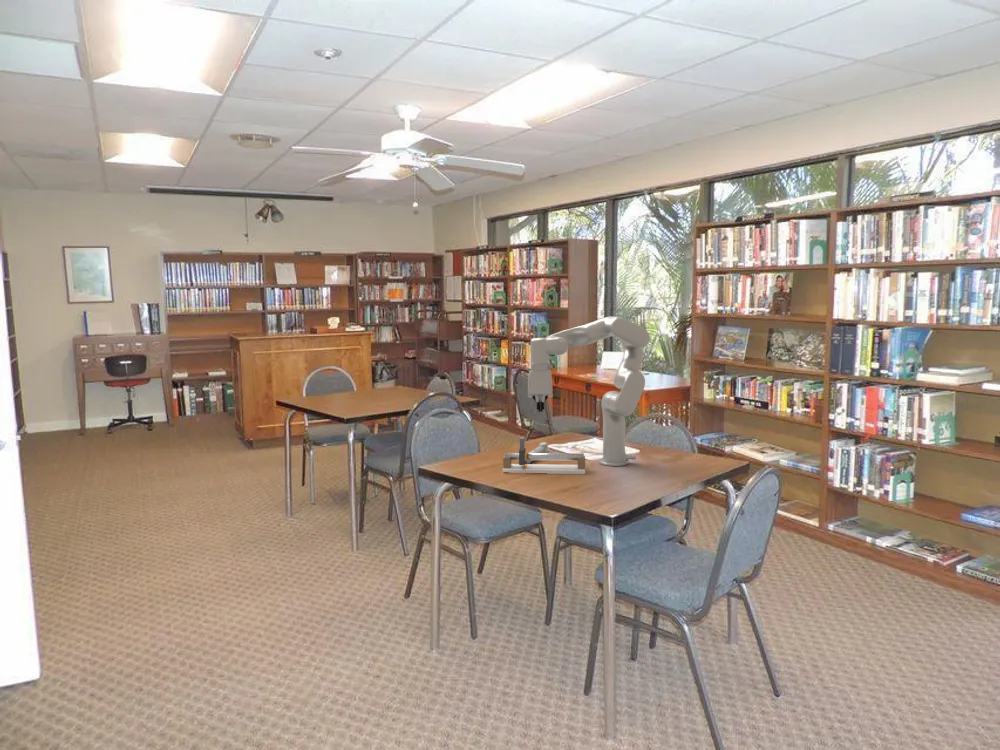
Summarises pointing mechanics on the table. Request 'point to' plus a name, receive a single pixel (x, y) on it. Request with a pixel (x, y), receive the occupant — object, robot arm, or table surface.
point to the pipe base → (544, 467)
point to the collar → (522, 452)
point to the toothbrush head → (539, 450)
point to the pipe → (547, 456)
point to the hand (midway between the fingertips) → (540, 411)
